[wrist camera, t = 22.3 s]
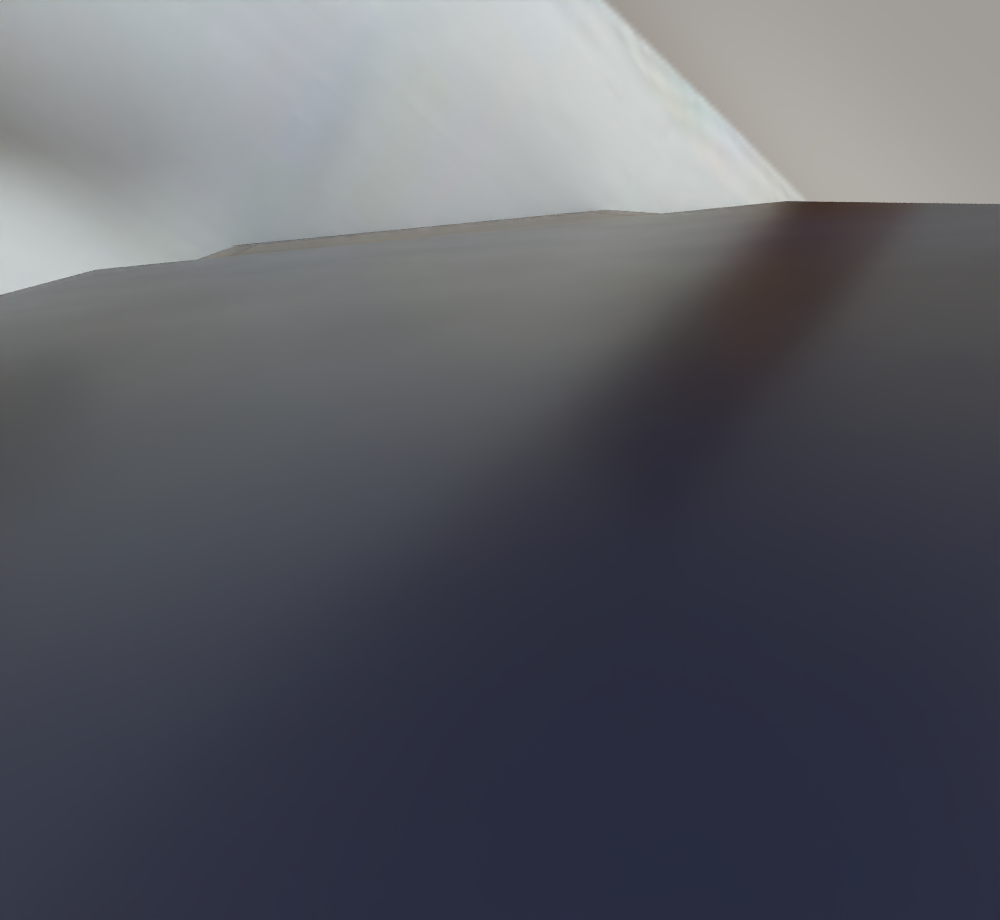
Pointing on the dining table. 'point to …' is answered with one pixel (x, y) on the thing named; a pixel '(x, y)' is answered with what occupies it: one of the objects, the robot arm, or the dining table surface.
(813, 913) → the lid
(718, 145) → the dining table surface
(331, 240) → the chest
